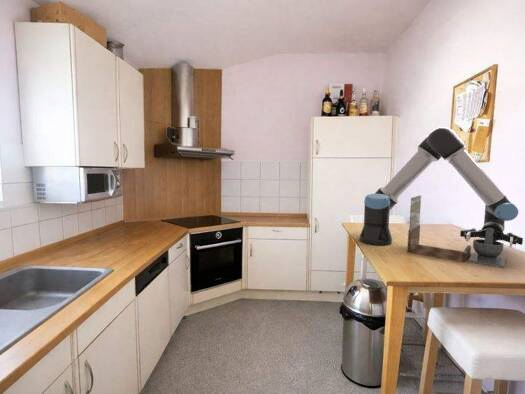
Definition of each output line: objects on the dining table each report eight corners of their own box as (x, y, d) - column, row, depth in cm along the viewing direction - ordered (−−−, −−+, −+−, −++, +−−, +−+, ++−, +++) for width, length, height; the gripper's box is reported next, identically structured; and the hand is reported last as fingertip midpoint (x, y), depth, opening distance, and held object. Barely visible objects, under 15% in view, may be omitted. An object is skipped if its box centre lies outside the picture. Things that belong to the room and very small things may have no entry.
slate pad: (468, 261, 117) (468, 259, 117) (472, 254, 127) (472, 252, 127) (504, 268, 110) (504, 266, 110) (505, 259, 120) (505, 257, 120)
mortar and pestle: (501, 264, 111) (504, 233, 110) (471, 259, 117) (473, 230, 116) (502, 257, 120) (505, 228, 118) (474, 253, 126) (476, 225, 125)
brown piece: (407, 251, 131) (410, 198, 128) (416, 244, 142) (419, 195, 139) (465, 262, 117) (470, 202, 114) (470, 253, 128) (474, 198, 125)
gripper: (529, 244, 123) (530, 256, 107) (458, 235, 140) (450, 244, 124) (530, 227, 123) (532, 236, 107) (459, 219, 139) (451, 227, 123)
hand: (488, 240), depth 115 cm, fingers open, 13 cm apart
